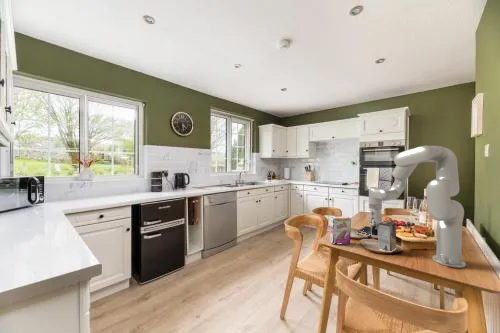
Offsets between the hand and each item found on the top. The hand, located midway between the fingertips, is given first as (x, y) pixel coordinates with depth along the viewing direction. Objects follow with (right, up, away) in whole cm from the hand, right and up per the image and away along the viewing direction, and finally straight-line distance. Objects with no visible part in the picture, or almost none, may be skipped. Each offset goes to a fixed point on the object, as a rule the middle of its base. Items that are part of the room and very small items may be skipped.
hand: (375, 233), depth 149 cm
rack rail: (+1, -3, +13) cm, 13 cm away
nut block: (0, -2, 0) cm, 2 cm away
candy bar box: (-27, -4, -8) cm, 28 cm away
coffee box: (-5, -4, -20) cm, 21 cm away
